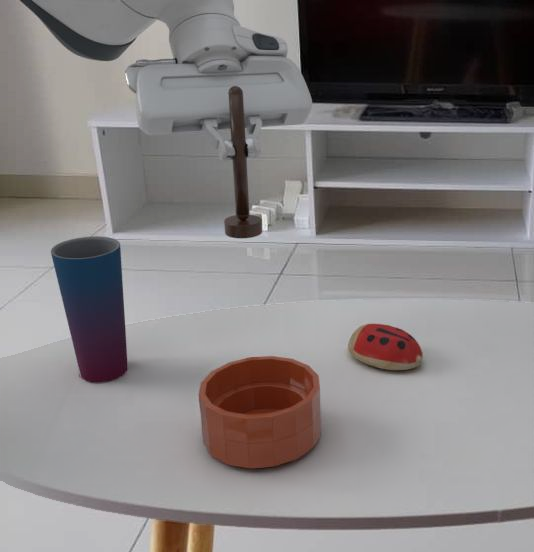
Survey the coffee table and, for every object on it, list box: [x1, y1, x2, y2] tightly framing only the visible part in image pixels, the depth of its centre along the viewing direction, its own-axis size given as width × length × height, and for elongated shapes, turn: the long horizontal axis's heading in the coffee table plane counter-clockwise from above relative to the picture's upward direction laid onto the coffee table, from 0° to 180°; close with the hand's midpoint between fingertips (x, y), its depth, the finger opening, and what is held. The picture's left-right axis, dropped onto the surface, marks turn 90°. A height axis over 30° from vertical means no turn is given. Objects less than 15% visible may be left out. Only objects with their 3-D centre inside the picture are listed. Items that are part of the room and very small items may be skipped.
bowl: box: [198, 355, 322, 469], centre depth 72 cm, size 11×11×6 cm
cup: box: [50, 235, 129, 384], centre depth 82 cm, size 7×7×15 cm
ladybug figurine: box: [347, 323, 424, 371], centre depth 88 cm, size 7×10×4 cm
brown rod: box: [223, 86, 263, 239], centre depth 86 cm, size 4×4×17 cm
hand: (241, 156), depth 86 cm, fingers closed on brown rod
